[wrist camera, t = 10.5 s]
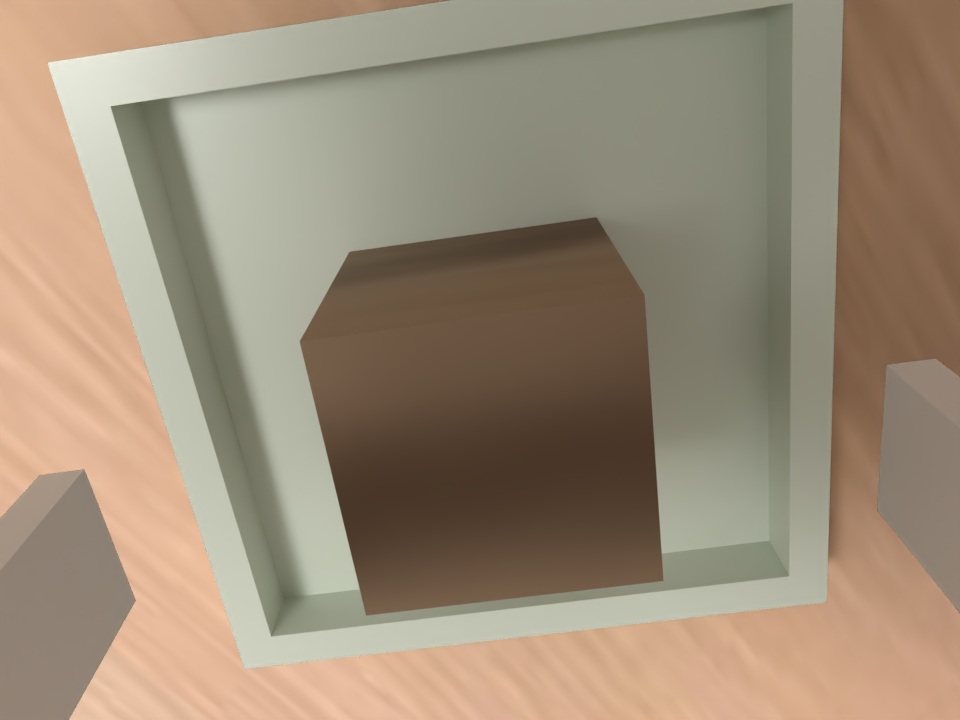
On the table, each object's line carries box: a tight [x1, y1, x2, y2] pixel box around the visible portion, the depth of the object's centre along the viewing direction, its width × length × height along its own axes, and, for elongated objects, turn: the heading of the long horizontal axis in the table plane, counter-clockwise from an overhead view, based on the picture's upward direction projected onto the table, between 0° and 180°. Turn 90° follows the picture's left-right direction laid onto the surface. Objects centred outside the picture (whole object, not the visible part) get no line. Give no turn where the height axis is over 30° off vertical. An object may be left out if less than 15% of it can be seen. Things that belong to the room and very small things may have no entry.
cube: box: [300, 217, 663, 616], centre depth 18 cm, size 6×6×6 cm
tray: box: [48, 0, 844, 669], centre depth 20 cm, size 16×16×2 cm
